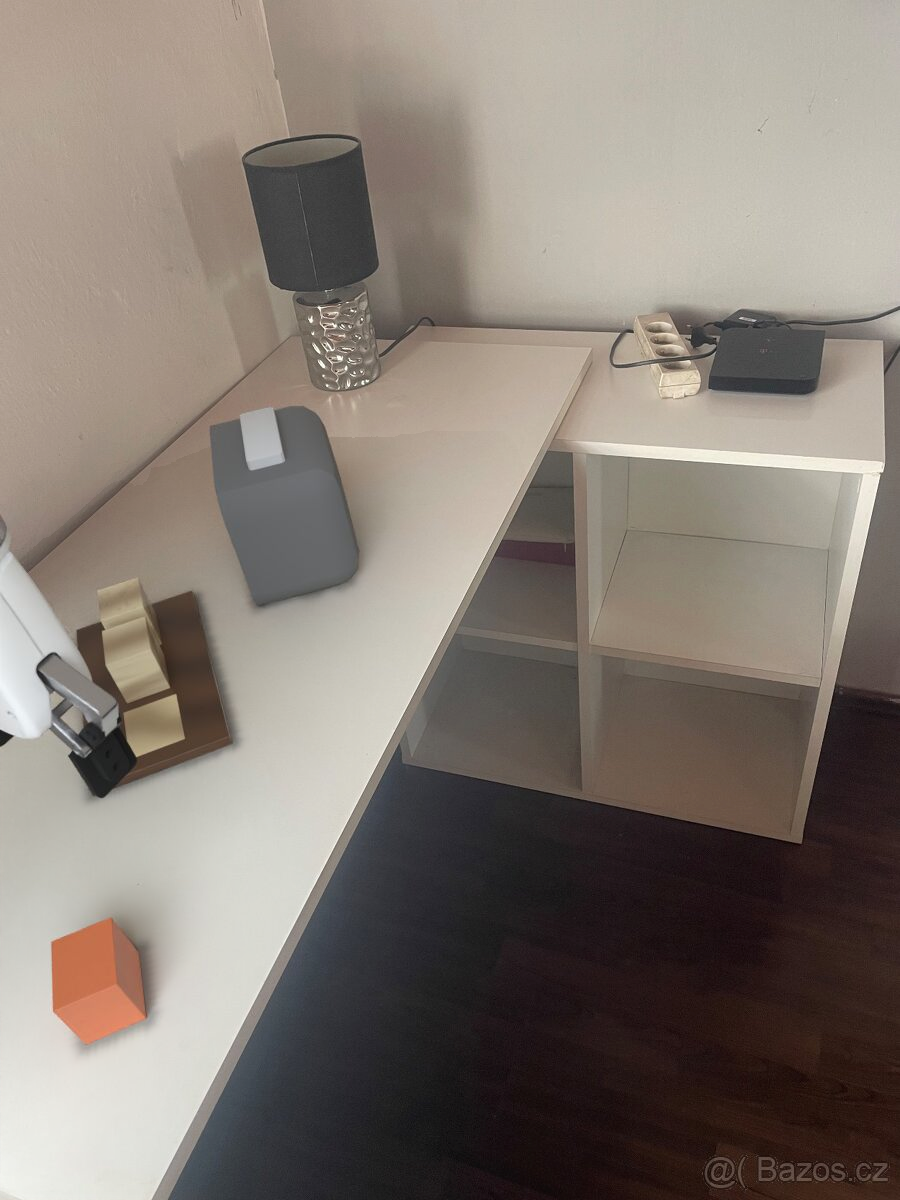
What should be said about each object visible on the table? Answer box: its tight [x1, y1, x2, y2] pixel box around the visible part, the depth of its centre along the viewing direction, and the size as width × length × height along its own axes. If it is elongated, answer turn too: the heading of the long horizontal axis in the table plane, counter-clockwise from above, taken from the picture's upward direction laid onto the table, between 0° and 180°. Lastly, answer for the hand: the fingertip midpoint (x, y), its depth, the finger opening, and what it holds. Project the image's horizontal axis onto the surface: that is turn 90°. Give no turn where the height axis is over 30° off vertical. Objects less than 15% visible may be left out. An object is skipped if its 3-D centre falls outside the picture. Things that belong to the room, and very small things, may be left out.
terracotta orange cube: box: [50, 917, 147, 1045], centre depth 57 cm, size 5×4×5 cm
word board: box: [75, 590, 233, 797], centre depth 81 cm, size 22×12×1 cm, turn 21°
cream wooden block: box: [102, 617, 170, 703], centre depth 79 cm, size 5×4×5 cm
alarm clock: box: [209, 405, 360, 607], centre depth 88 cm, size 16×11×16 cm
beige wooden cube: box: [96, 576, 162, 645], centre depth 84 cm, size 5×4×5 cm
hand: (64, 754), depth 55 cm, fingers open, 9 cm apart
